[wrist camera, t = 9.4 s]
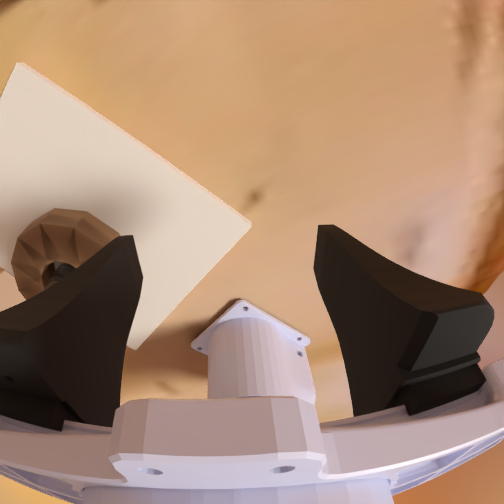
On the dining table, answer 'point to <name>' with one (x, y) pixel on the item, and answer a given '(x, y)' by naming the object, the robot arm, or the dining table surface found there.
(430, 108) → the dining table surface
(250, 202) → the dining table surface
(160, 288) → the mat
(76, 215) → the ring
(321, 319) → the dining table surface
